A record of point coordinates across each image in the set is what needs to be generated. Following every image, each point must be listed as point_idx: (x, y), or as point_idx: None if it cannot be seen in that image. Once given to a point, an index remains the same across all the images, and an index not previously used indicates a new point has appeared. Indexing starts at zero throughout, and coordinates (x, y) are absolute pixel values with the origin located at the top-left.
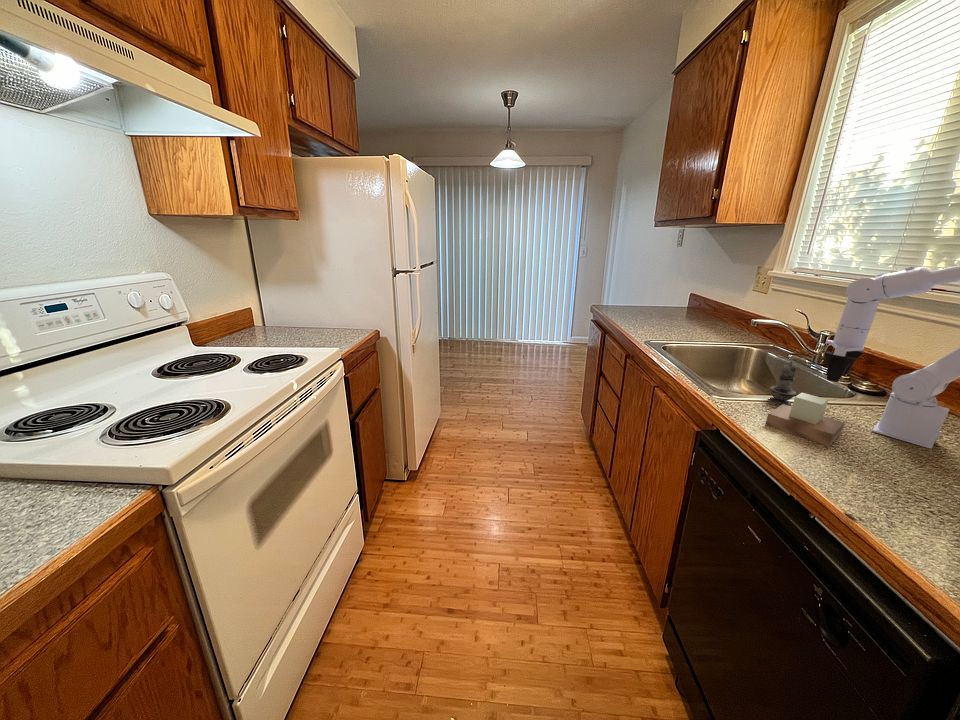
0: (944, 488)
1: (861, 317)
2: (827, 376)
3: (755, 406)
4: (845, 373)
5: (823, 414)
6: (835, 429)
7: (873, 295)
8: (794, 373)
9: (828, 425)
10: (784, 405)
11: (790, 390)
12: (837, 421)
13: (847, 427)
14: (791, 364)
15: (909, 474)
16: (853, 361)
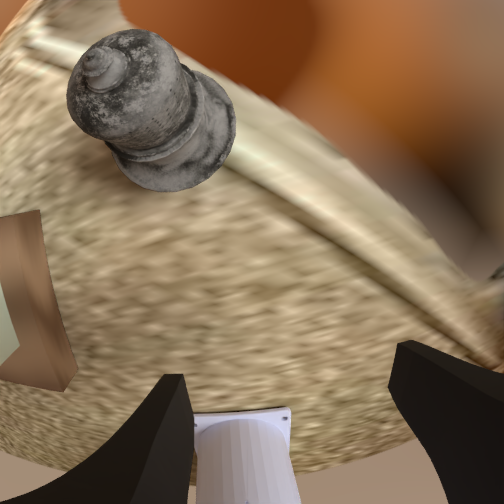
0: (58, 466)
1: None
2: (152, 389)
3: (42, 124)
4: (397, 400)
5: (10, 354)
6: (2, 376)
7: None
8: (124, 144)
9: (4, 363)
10: (7, 226)
11: (153, 166)
12: (48, 378)
13: (151, 373)
14: (96, 77)
15: (47, 445)
16: (440, 476)
